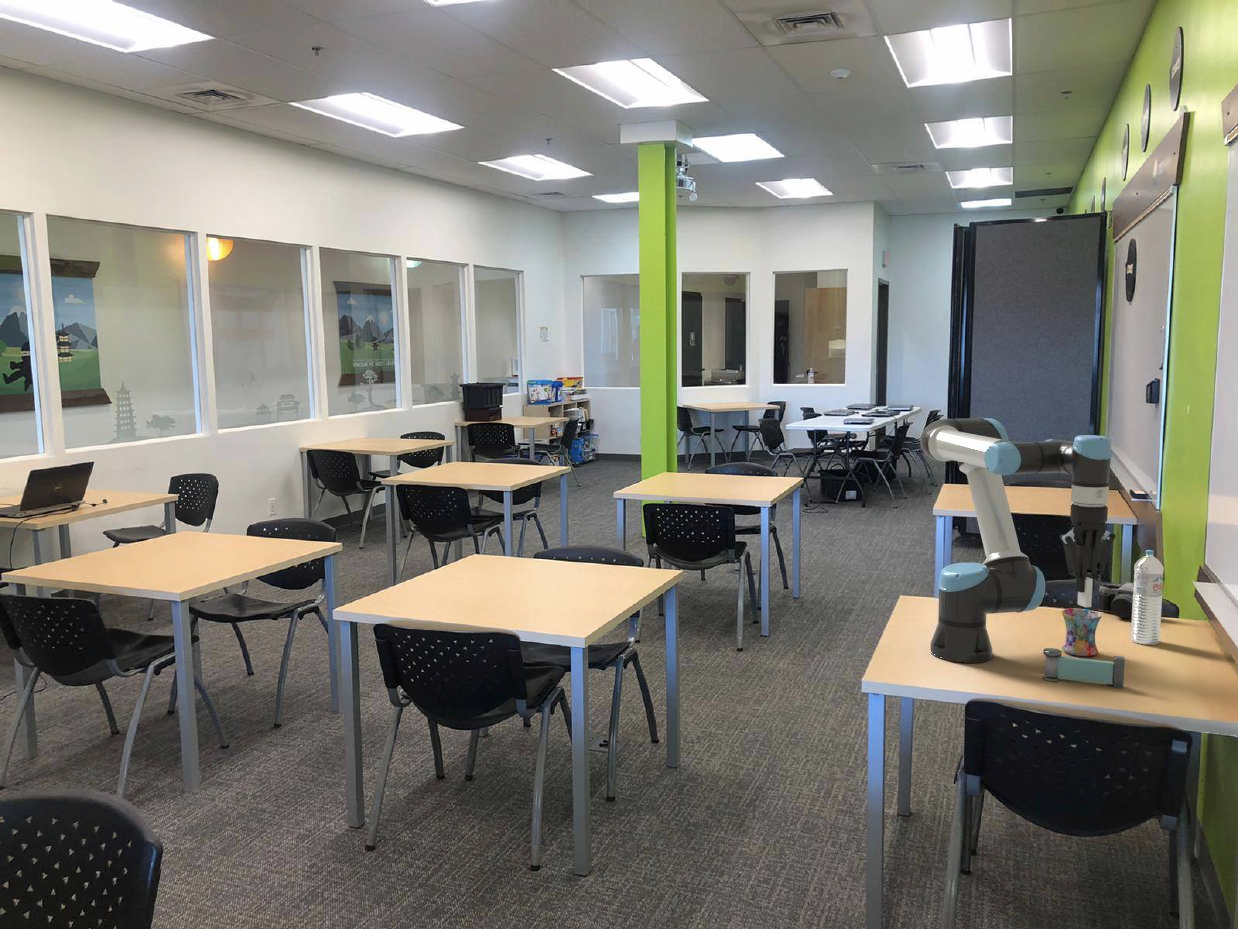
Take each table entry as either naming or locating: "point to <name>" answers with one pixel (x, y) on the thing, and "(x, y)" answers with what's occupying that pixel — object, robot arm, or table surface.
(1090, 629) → the mug
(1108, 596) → the camera
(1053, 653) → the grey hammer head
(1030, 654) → the table surface
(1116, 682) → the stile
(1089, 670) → the teal rectangular bar
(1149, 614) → the water bottle
